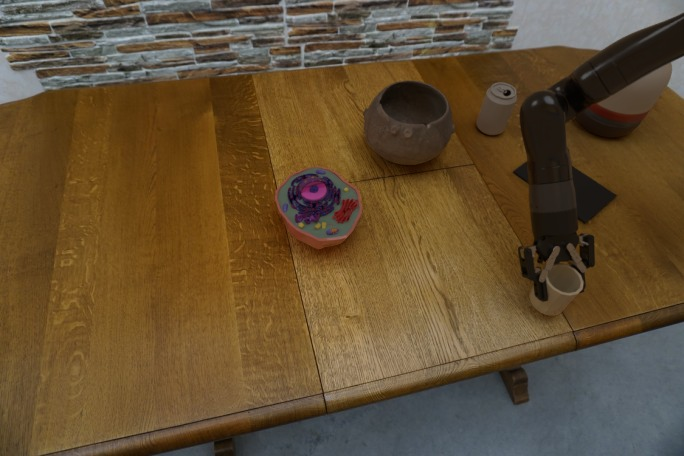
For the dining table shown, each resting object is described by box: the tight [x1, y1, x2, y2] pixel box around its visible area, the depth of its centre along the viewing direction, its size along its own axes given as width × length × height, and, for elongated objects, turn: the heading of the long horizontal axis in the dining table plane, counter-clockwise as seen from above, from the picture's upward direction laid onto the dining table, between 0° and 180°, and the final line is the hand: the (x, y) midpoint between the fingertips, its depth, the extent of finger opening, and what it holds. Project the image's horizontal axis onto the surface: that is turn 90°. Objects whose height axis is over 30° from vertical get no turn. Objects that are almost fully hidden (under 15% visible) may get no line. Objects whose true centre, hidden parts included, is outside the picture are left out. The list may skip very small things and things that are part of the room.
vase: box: [574, 62, 673, 138], centre depth 114 cm, size 17×17×24 cm
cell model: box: [274, 166, 363, 250], centre depth 95 cm, size 17×20×11 cm
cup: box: [529, 262, 584, 317], centre depth 85 cm, size 7×7×8 cm
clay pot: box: [362, 79, 456, 166], centre depth 109 cm, size 21×21×15 cm
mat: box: [512, 161, 618, 225], centre depth 109 cm, size 20×13×1 cm, turn 40°
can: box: [475, 81, 518, 136], centre depth 116 cm, size 8×8×12 cm
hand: (560, 295), depth 84 cm, fingers closed on cup, 7 cm apart
